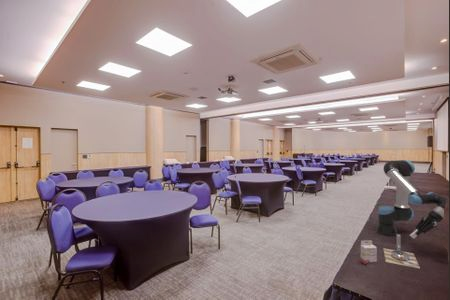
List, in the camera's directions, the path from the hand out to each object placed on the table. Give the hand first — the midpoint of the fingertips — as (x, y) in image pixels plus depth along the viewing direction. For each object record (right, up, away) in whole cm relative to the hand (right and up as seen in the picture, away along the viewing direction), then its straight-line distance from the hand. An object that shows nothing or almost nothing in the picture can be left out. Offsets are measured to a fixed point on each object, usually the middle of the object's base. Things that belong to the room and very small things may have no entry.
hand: (411, 237), depth 164 cm
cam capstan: (-11, -13, -3) cm, 17 cm away
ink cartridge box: (-34, -16, -6) cm, 38 cm away
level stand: (-11, -15, -3) cm, 18 cm away
